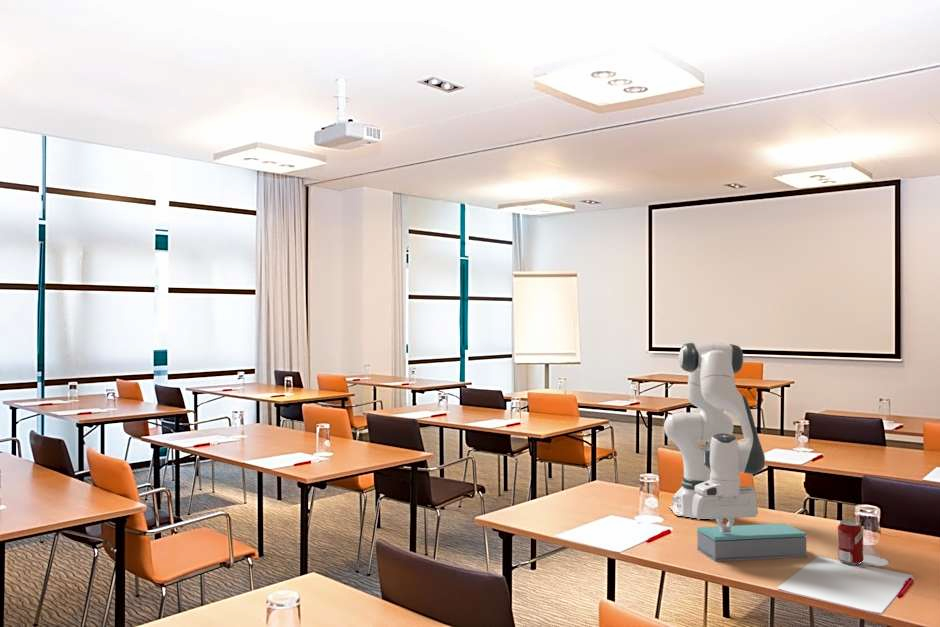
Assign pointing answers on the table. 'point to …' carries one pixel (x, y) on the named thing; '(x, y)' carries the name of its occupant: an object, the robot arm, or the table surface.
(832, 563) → the table surface
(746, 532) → the lid
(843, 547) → the soda can
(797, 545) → the grey open box
